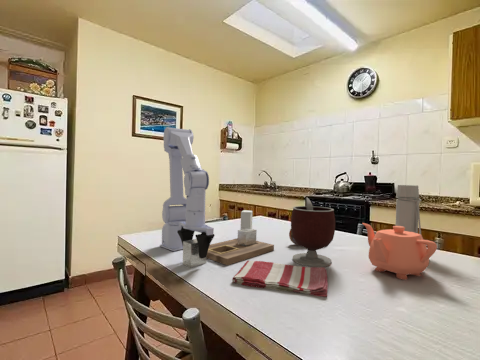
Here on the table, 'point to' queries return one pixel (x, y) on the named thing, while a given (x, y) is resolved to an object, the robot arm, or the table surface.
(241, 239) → the block
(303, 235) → the mate gourd
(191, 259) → the block
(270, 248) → the board
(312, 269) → the dish towel
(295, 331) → the table surface
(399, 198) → the water bottle
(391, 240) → the teapot
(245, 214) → the skincare box
